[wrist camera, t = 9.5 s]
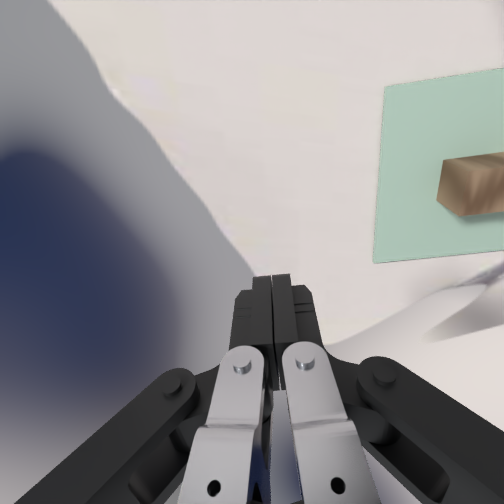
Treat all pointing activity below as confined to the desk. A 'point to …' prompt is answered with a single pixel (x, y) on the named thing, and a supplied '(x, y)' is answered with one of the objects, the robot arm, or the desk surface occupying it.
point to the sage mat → (435, 165)
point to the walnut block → (472, 184)
